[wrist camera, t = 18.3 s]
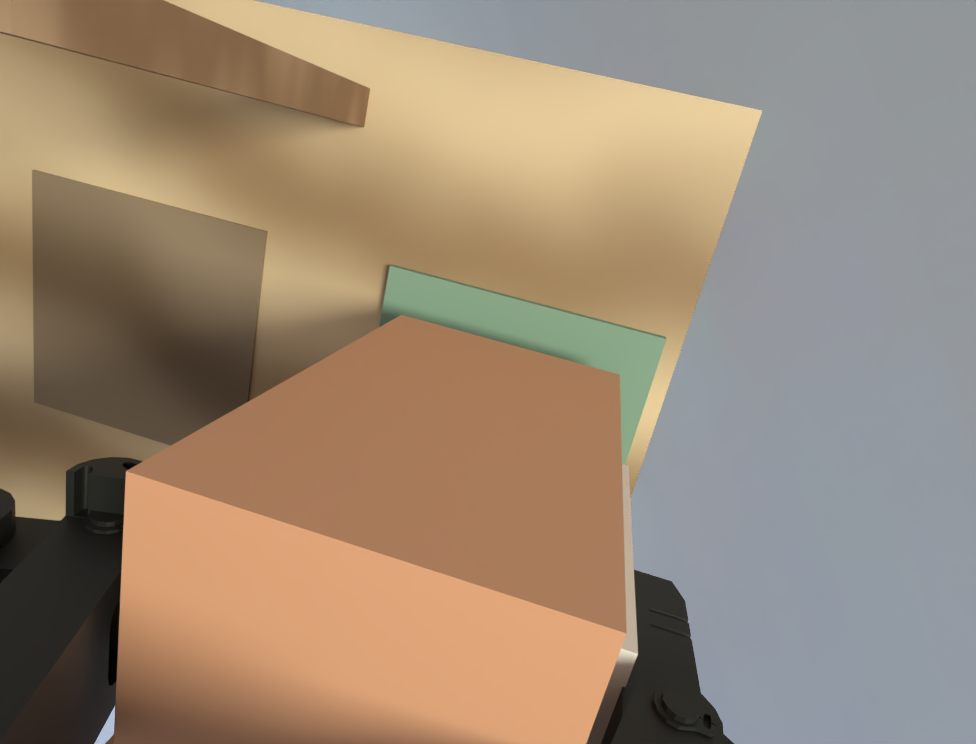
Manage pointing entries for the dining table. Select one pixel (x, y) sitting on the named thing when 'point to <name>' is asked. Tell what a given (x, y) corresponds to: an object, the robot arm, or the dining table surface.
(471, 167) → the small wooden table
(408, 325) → the block
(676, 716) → the robot arm
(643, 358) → the felt pad
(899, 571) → the dining table surface
